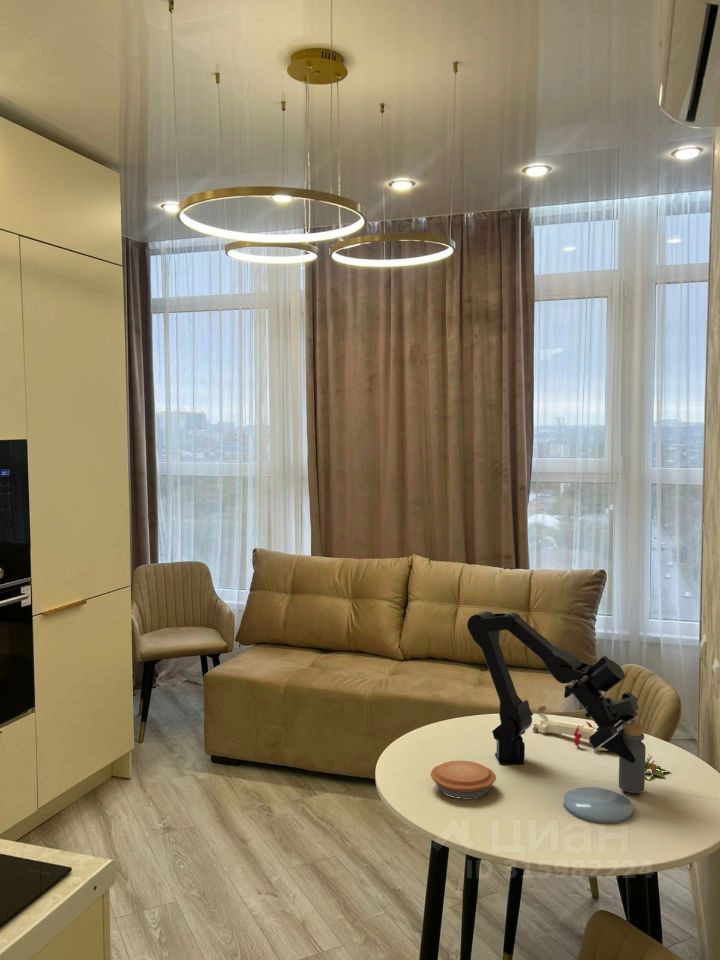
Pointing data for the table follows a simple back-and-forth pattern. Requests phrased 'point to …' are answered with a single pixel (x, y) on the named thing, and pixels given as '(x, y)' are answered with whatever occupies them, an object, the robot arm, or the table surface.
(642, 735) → the bottle
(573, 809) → the dish
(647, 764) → the lily flower
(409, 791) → the table surface
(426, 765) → the table surface
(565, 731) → the cat figure
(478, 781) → the pie
